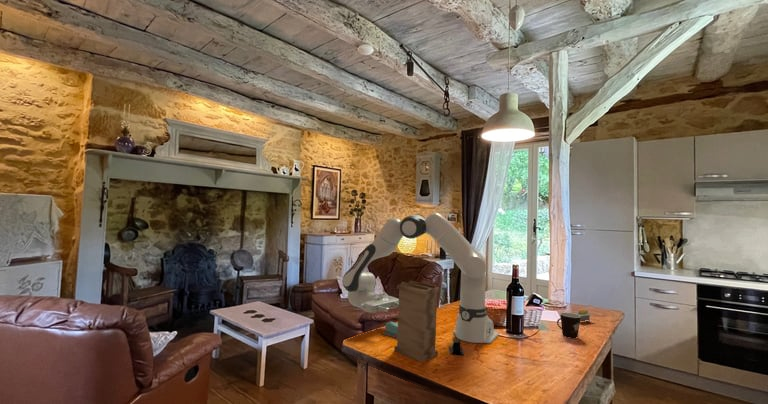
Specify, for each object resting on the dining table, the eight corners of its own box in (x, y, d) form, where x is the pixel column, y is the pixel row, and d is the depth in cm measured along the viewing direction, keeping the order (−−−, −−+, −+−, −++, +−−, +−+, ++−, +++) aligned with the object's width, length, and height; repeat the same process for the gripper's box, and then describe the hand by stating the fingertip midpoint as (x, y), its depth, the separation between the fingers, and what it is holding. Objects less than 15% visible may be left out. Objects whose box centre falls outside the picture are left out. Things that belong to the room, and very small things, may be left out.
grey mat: (395, 329, 167) (395, 327, 167) (432, 342, 151) (432, 340, 152) (382, 333, 160) (382, 331, 160) (419, 347, 145) (419, 345, 145)
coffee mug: (575, 333, 171) (575, 313, 171) (583, 339, 162) (583, 318, 162) (550, 332, 172) (551, 311, 172) (557, 338, 163) (558, 316, 164)
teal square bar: (390, 328, 165) (390, 321, 165) (427, 341, 150) (428, 333, 150) (385, 330, 163) (385, 322, 163) (422, 343, 147) (423, 335, 147)
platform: (562, 321, 193) (562, 309, 194) (583, 318, 201) (583, 306, 202) (582, 327, 183) (583, 315, 183) (604, 324, 191) (604, 312, 191)
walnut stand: (410, 345, 147) (412, 279, 148) (437, 355, 137) (439, 285, 138) (394, 351, 139) (396, 282, 141) (422, 362, 130) (424, 288, 131)
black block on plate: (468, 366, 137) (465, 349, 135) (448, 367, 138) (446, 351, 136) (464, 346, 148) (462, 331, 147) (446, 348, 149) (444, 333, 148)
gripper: (358, 298, 164) (379, 305, 154) (387, 293, 178) (408, 298, 169) (357, 312, 163) (378, 319, 154) (387, 305, 178) (407, 311, 169)
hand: (394, 308), depth 161 cm, fingers open, 8 cm apart
